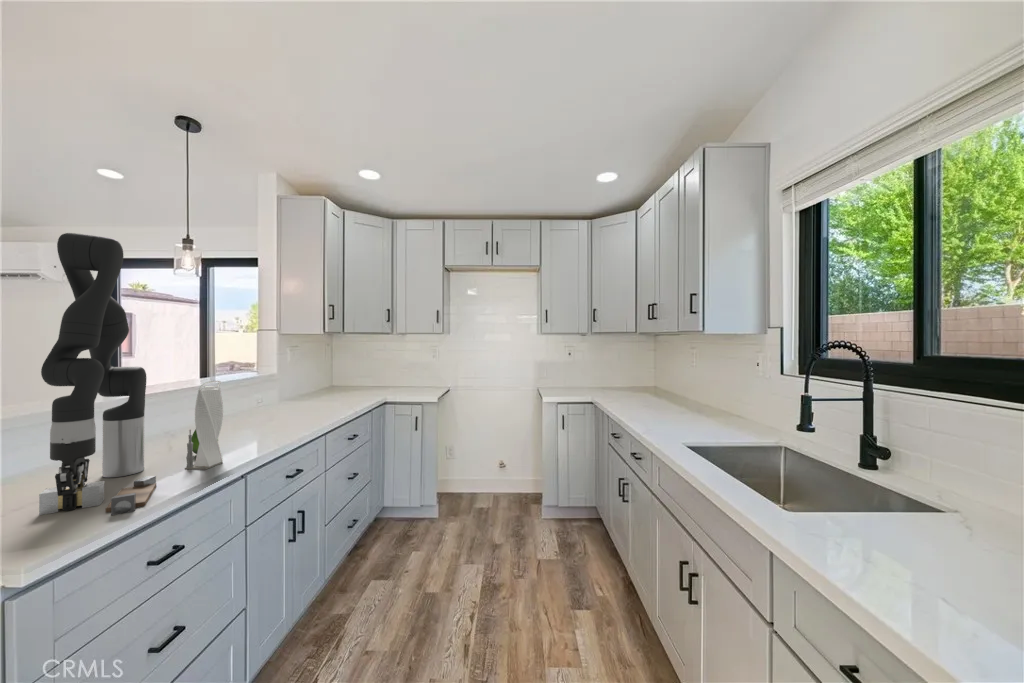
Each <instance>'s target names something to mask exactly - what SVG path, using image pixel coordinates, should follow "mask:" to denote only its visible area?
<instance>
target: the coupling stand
mask: <svg viewBox="0 0 1024 683" xmlns="http://www.w3.org/2000/svg"><path fill="white" fill-rule="evenodd" d="M156 488H157V475H147V476H142V477H140V478H139V479H136V480H133V486H130V487H123V488H121V489H120V490H119V491H118V493H117V494H116V495H113V496H112V497H110V498H111V499H110V503H109V504H108V505H107V506H106V507H105V513H110V516H113V515H114V516H115V515H120V514H125V513H131V512H135V510H136V509H137V508H139V507H144V506H146V505H147V503H148V501H149V500H150V499H151V496H152V495H153V494H154V492H155V489H156Z"/></svg>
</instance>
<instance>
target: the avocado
mask: <svg viewBox="0 0 1024 683" xmlns="http://www.w3.org/2000/svg"><path fill="white" fill-rule="evenodd" d="M191 435H192V438H191V442H193V450H192V453H193V454H196V455H197V452H198V448H199V440H198V437H197V432H196V428H194V432H192V434H191Z"/></svg>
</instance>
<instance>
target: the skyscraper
mask: <svg viewBox="0 0 1024 683" xmlns="http://www.w3.org/2000/svg"><path fill="white" fill-rule="evenodd" d="M211 383H218V384H217V386H215V385H207V384H211ZM221 383H222V381H221V380H210V381H206V382H204V383H202V384H201V385H200V386H199V387H198V389H197V396H196V401H195V408H194V425H195V426H194V427H195V429H196V432H197V437H198V440H199V448H198V452H197V454H196V459H195V461H194V455H193V454H194V452H193V451H192V450H193V442H191V438H192V435H193V434H192V432H191V431H192V429H189V430H188V431H189V432H188V433H189V434H188V442H187V443H186V447H187V451H186V452H187V453H186V457H185V458H186V467H184V470H193V471H194V470H197V471H199V470H200V471H201V470H204V471H205V470H208V469H211V468H213V467H217V466H218V465H221V464H223V461H224V460H223V457H222V453H221V447H220V444H219V436H220V434H221V429H222V426H223V425H222V424H223V420H224V419H223V418H224V405H223V396H222V393H221V392H222V391H221V387H220V385H221ZM205 385H206V386H205ZM193 462H194V463H193Z"/></svg>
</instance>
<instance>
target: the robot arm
mask: <svg viewBox="0 0 1024 683" xmlns="http://www.w3.org/2000/svg"><path fill="white" fill-rule="evenodd" d="M56 244H57V245H56V247H57V254H58V259H59V261H60V263H61V266H62V270H63V271H64V274H65V275H66V279H67V281H68V283H69V286H70V289H71V291H72V294H73V297H74V301H73V302H71V304H69V306H68V307H66V309H65V311H64V313H63V314H62V317H61V321H60V327H59V332H58V339H57V340H56V342H55V344H54V345H53V347H52V348H51V350H50V352H49V353H48V355H47V357H46V358H45V360H44V362H43V364H42V366H41V370H40V374H41V377H42V380H43V381H44V382H45V384H47V385H49V386H51V387H73V390H72V392H71V394H68V395H63V396H60V397H57V398H55V399H54V400H53V401H52V403H51V427H50V431H49V459H50V460H51V461H54V462H55V461H60V462H61V466H60V467H59V468H58V471H57V472H58V473H55V476H54V478H55V485H56V487H57V494H58V496H63V507H62V509H61V510H62V511H63V512H67V511H72V510H75V509H76V508H77V507H78V506H77V487H82V486H85V485H86V483H88V482H87V481H88V474H89V464H90V462H91V460H90V459H89V458H87V457H89V456H93V455H94V454H95V453H96V450H97V449H96V442H97V441H96V439H97V438H96V431H97V430H96V428H97V427H96V426H97V425H96V422H95V403H96V402H95V401H96V399H97V396H98V395H99V396H101V397H105V398H112V397H115V398H117V397H128V400H127V401H126V402H124V403H122V404H120V405H117V406H114V407H110V408H107V409H105V410H104V411H103V412H102V471H101V472H102V477H103V478H118V477H125V476H130V475H134V474H138V473H141V472H143V471H144V470H145V409H146V391H147V390H146V389H147V373H146V370H145V368H144V367H143V366H113V365H112V364H111V360H112V357H113V356H114V354H115V353H116V351H117V350H118V349H119V348H120V346H121V345H122V344H123V343H124V341H126V340H127V337H128V335H129V333H130V329H129V322H128V317H127V313H126V311H125V308H124V307H123V306H122V305H121V304H120V303H119V302H118V301H117V300H116V299H115V298H113V296H112V295H113V292H114V289H115V287H116V283H117V282H118V281H117V280H118V278H119V276H120V273H121V270H122V266H123V264H124V256H125V255H124V250H123V246H122V244H121V243H120V241H119V240H117V239H115V238H113V237H112V238H111V237H107V236H99V235H92V234H91V235H90V234H83V233H75V232H65V233H62V234H61V235H59V237H58V239H57V242H56ZM92 272H97V273H96V277H95V278H94V276H93V274H92ZM84 351H89V355H90V357H78V356H79V355H80V354H81V353H82V352H84ZM68 488H69V489H68ZM66 489H67V490H66Z"/></svg>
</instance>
